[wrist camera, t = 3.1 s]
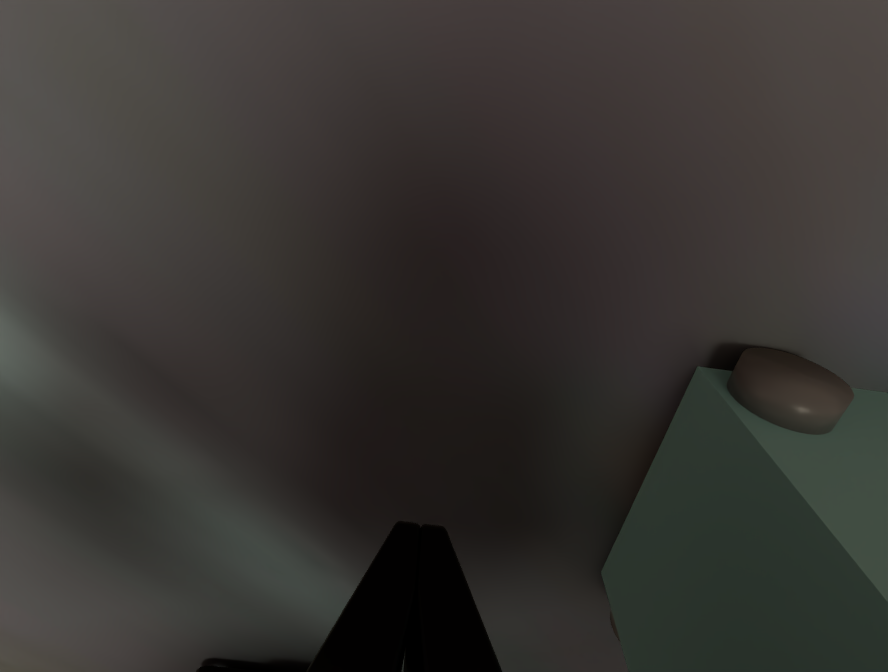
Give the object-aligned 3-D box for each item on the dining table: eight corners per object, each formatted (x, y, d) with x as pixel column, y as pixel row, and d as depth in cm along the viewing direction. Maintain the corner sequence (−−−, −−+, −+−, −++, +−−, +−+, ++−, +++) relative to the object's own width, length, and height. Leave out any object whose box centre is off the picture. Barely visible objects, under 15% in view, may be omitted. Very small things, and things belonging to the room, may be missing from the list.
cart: (821, 610, 12) (1044, 944, 8) (592, 583, 12) (677, 912, 7) (1021, 379, 9) (1657, 727, 4) (707, 335, 9) (1006, 652, 4)
